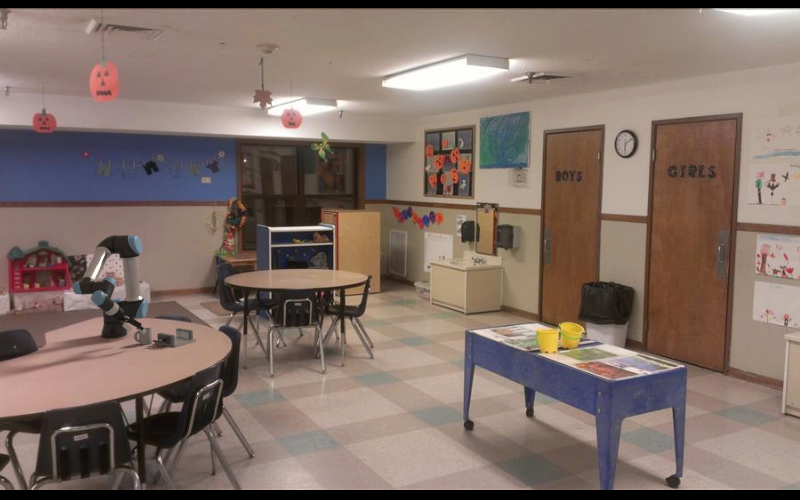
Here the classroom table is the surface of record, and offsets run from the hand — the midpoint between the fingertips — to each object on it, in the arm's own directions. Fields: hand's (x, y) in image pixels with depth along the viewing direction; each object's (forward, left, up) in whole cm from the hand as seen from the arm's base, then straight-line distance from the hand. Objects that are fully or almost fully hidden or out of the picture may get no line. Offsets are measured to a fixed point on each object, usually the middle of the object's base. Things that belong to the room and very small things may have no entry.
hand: (138, 331), depth 379 cm
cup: (-1, +4, -9) cm, 10 cm away
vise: (+14, +13, -9) cm, 21 cm away
